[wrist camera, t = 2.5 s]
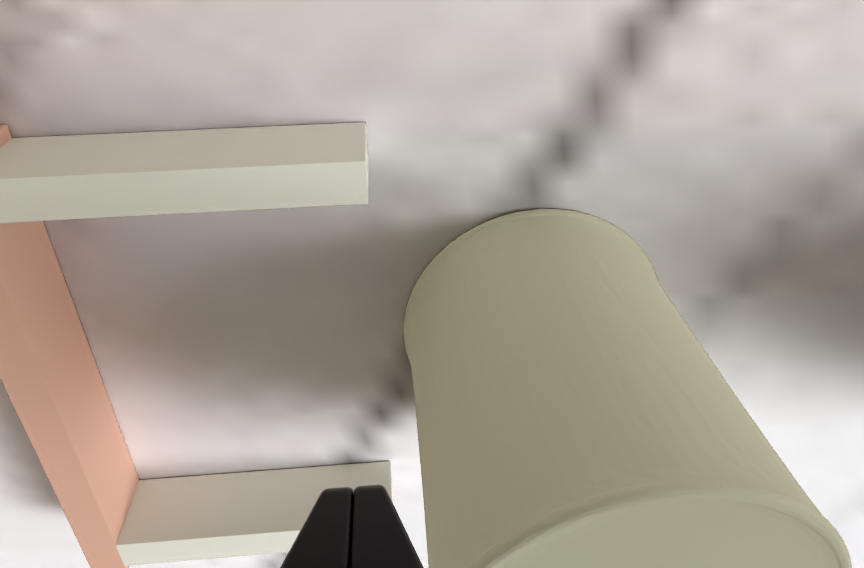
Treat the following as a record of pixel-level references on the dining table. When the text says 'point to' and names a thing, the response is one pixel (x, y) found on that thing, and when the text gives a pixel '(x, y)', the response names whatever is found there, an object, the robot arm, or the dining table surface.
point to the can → (586, 415)
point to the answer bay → (73, 360)
